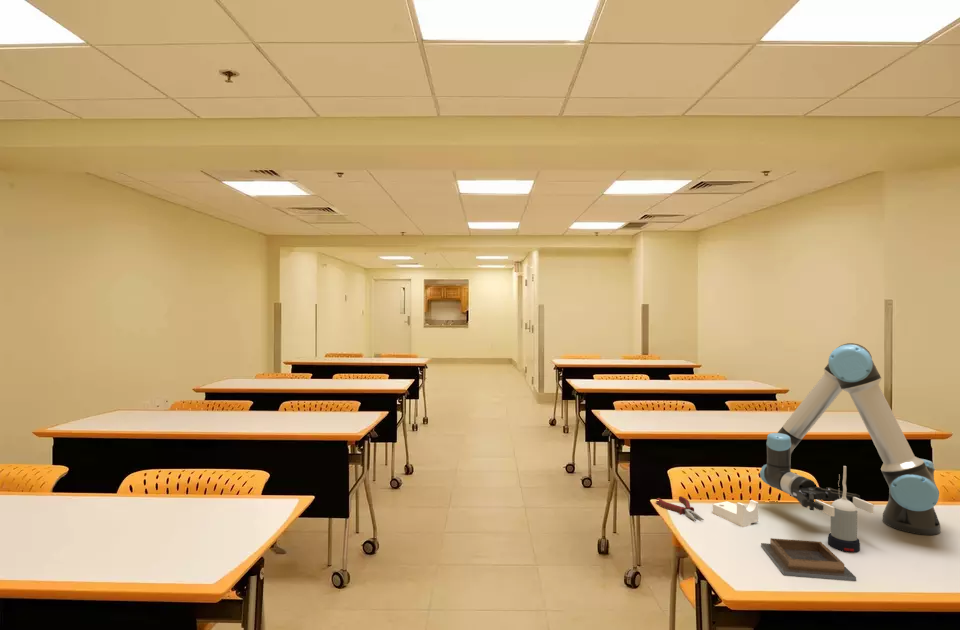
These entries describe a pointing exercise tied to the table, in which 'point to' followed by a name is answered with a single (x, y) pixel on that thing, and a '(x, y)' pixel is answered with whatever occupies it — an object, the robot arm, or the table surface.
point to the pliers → (680, 508)
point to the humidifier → (844, 523)
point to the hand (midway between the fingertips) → (853, 510)
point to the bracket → (737, 512)
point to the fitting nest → (806, 559)
